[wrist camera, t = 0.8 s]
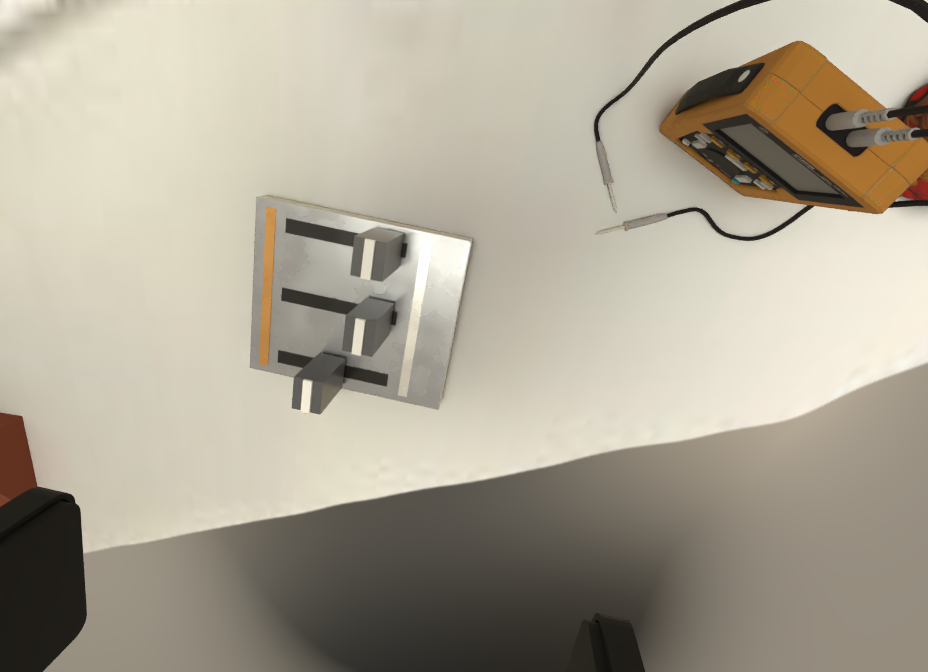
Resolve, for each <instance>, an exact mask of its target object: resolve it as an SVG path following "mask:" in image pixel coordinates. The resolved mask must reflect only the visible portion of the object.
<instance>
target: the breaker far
mask: <svg viewBox="0 0 928 672" xmlns="http://www.w3.org/2000/svg"><path fill="white" fill-rule="evenodd" d="M345 360H346V358H342V357H338V356H333V355H329V354H324V353H319V354H318V355H317V356H316V357H314V358H313V359H312V360H311V361H310V362H309V363H308V364H307V365H306V366H305V367H304V368H303V369H302V370H301V371H300V372H298V373H297V374H296V375H295V376H294V384H293V398H292V408H293V409H298V410H301V411H300V412H304V413H308V414H309V413H310V412H311V413H316V414H321V413H322V412H323V410H324V409H325V408H326V407H327V405H328V404H329V403H330V402H331V400H332V399H333V398H334V397H335V395H336V394H337V393H338V392H339V390H340V389H341V388H342V387H343V378H344V369H345Z"/></svg>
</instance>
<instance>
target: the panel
mask: <svg viewBox="0 0 928 672" xmlns="http://www.w3.org/2000/svg"><path fill="white" fill-rule="evenodd" d="M374 227H377V228H382V229H387V230H392V231H396V232H401V233H404V238H403V245H402V252H401V258H400V265H399V268H398V269H397V270H396V271H395V272H394V273H392V274H391V275H390V276H389V277H388V278H386V279H385V280H384V281H383V282H379V281H375V280H366V279H361V278H360V277H356V276H351V275H350V272H351V262H352V253H353V244H354V236H355V235H358V234H360V233H363V232H365V231H367V230H370V229H372V228H374ZM472 241H473V238H469V237H464V236H459V235H454V234H450V233H445V232H440V231H435V230H430V229H426V228H421V227H416V226H411V225H406V224H402V223H397V222H392V221H387V220H383V219H378V218H373V217H368V216H363V215H359V214H354V213H349V212H344V211H339V210H335V209H330V208H325V207H320V206H316V205H311V204H306V203H301V202H296V201H292V200H287V199H282V198H277V197H272V196H260V197H256V222H255V248H254V274H253V300H252V326H251V352H250V368H254V369H258V370H263V371H267V372H272V373H276V374H280V375H285V376H289V377H294V376H295V375H296V374H297V373H298V372H300V371H301V370H302V369H303V368H304V367H305V366H306V365H307V364H308V363H309V362H310V361H311V360H312V359H313V358H314V357H316V356H317V355H318V354H319V353H324V354H329V355H333V356H338V357H342V358H346V360H345V369H344V378H343V387H342V388H343V389H348V390H352V391H357V392H361V393H366V394H370V395H375V396H379V397H384V398H388V399H392V400H397V401H401V402H406V403H410V404H415V405H419V406H424V407H428V408H433V409H437V410H438V409H439V406H440V403H441V400H442V395H443V390H444V385H445V380H446V375H447V370H448V365H449V359H450V354H451V349H452V344H453V339H454V334H455V329H456V324H457V318H458V313H459V308H460V303H461V298H462V293H463V288H464V282H465V277H466V272H467V267H468V262H469V257H470V252H471V246H472ZM365 298H371V299H376V300H381V301H385V302H390V303H394V307H393V314H392V321H391V328H390V334H389V336H388V337H387V338H386V340H385V341H384V342H383V344H382V345H381V346H380V348H379V349H378V350H377V351H376V353H375V354H374V355H373V357H369V356H365V355H361V356H359V355H354V354H351V352H347V351H342V345H343V336H344V326H345V317H346V315H347V314H348V313H349V312H350V311H351V310H353V309H354V308H355V307H356V306H357V305H358V304H360V303H361V302H362V301H363V300H364V299H365Z"/></svg>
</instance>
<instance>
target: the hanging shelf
mask: <svg viewBox="0 0 928 672" xmlns="http://www.w3.org/2000/svg"><path fill="white" fill-rule="evenodd" d="M35 487H37V482H36V478H35V473H34V469H33V464H32V459H31V455H30V450H29V446H28V441H27V436H26V432H25V427H24V422H23V418H22V416H17V415H11V414H5V413H0V507H1V506H2V505H4V504H6V503H7V502H9V501H10V500H12V499H14V498H15V497H17V496H18V495H20V494H22V493H23V492H25V491H27V490H29V489H31V488H35Z"/></svg>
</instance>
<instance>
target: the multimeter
mask: <svg viewBox="0 0 928 672" xmlns="http://www.w3.org/2000/svg"><path fill="white" fill-rule="evenodd" d="M766 1H769V0H740V1H738V2H735V3H733V4H731V5H729V6H726V7H724V8H722V9H719V10H717V11H715V12H713V13H711V14H709V15H707V16H705V17H704V18H702V19H700V20H698V21H696V22H694V23H693V24H691V25H689V26H688V27H686V28H685V29H683V30H681V31H680V32H678V33H677V34H676V35H674V36H673V37H672V38H670V39H669V40H668V41H666V42H665V43H664V44H663V45H662V46H661V47H660V48H659V49H658V50H657V51H656V52H655V53H654V54H653V55H652V57H651V58H650V59H649V60H648V62H647V63H646V64H645V66H644V67H643V68H642V70H641V71H640V72H639V74H638V75H637V76H636V78H635V79H634V80H633V82H632V83H631V84H630V85H629V86H628V87H627V88H626V89H625V90H624V91H623V92H622V93H621V94H619V95H618V96H617V97H615V98H614V99H613V100H611V101H610V102H609V103H608V104H606V105H605V106H604V107H603V108H602V109H601V111H600V112H599V113H598V115H597V117H596V119H595V124H594V131H595V136H596V141H597V142H596V146H597V153H598V157H599V161H600V165H601V169H602V173H603V177H604V181H605V182H604V185H606V184H608V188H609V192H610V196H611V200H612V204H613V208H614V210H615V212H616V203H615V199H614V195H613V191H612V187H611V183H612V182H614V181H613V180H612V177H611V173H610V169H609V165H608V161H607V157H606V153H605V149H604V146H603V144H602V141H600V136H599V131H598V122H599V119H600V117H601V115H602V114H603V112H604V111H605V110H606V109H607V108H609V107H610V106H611V105H612V104H613V103H615V102H616V101H617V100H619V99H620V98H621V97H623V96H624V95H625V94H626V93H627V92H629V91H630V90H631V89H632V88H633V87H634V86H635V84H636V83H637V82H638V81H639V80H640V78H641V77H642V76H643V75H644V73H645V72H646V71H647V70H648V68H649V67H650V66H651V65H652V63H653V62H654V61H655V60H656V59H657V58H658V57H659V55H660V54H661V53H662V52H663V51H664V50H665V49H667V48H668V47H669V46H670V45H672V44H673V43H675V42H676V41H678V40H679V39H681V38H682V37H684V36H686V35H687V34H689V33H691V32H692V31H694V30H696V29H698V28H700V27H702V26H704V25H706V24H708V23H710V22H712V21H714V20H716V19H718V18H721V17H723V16H726V15H728V14H731V13H733V12H735V11H738V10H741V9H744V8H747V7H750V6H753V5H757V4H760V3H763V2H766ZM890 1H892V2H894V3H896V4H899V5H901V6H903V7H906V8H908V9H910V10H912V11H913V12H914V13H916V14H917V15H918V16H920V17H921V18H922V19H923V20H925V21H926V22H927V23H928V3H927V2H926V1H924V0H890ZM924 113H928V105H924V106H917V107H911V108H904V109H898V110H896V109H895V108H888V109H886V108H885V107H884V106H882V105H881V104H880V103H879V102H878V101H876V100H875V99H874V98H873V97H872V96H870V95H869V94H868V93H867V92H866V91H864V90H863V89H862V88H861V87H860V86H858V85H857V84H856V83H855V82H854V81H852V80H851V79H850V78H849V77H848V76H846V75H845V74H844V73H843V72H842V71H840V70H839V69H838V68H837V67H836V66H834V65H833V64H832V63H831V62H830V61H828V60H827V58H826V57H825V56H824V55H823V54H821V53H820V52H819V51H817V50H816V49H815V48H813V47H812V46H811V45H809V44H807V43H805V42H803V41H795V42H792V43H790V44H788V45H786V46H784V47H781V48H779V49H777V50H775V51H773V52H770V53H768V54H766V55H764V56H762V57H759V58H757V59H755V60H753V61H751V62H748V63H746V64H744V65H742V66H740V67H737V68H733V69H728V70H725V71H723V72H720V73H718V74H716V75H714V76H711V77H709V78H707V79H704V80H702V81H700V82H698V83H697V84H695V85H694V86H693V87H692V88H691V89H690V90H688V91H687V92H686V93H685V95H684V96H683V97H682V98H681V100H680V101H679V102H678V104H677V105H676V106H675V107H674V109H673V110H672V111H671V113H670V114H669V115H668V117H667V118H666V119H665V121H664V122H663V123H662V124H661V126H660V131H661V132H662V133H663V134H664V135H665V136H666V137H667V138H669V139H670V140H671V141H673V142H675V143H676V144H677V145H679V146H680V147H681V148H682V149H684V150H685V151H686V152H688V153H689V154H690V155H691V156H693V157H694V158H695V159H697V160H698V161H699V162H700V163H702V164H703V165H704V166H706V167H707V168H708V169H710V170H711V171H712V172H713V173H715V174H716V175H717V176H719V177H720V178H721V179H722V180H724V181H725V182H726V183H728V184H729V185H730V186H731V187H732V188H733V189H735V190H736V191H737V192H739V193H740V194H742V195H744V196H749V197H757V198H763V199H770V200H777V201H784V202H790V203H797V204H805V205H808V206H807V207H806V208H804V209H803V210H801V211H800V212H799V213H797V214H796V215H795V216H794V217H792V218H791V219H789V220H788V221H786V222H785V223H784V224H782V225H781V226H779V227H777V228H775V229H774V230H772V231H770V232H768V233H766V234H763V235H760V236H755V237H740V236H735V235H731V234H728V233H725V232H724V231H722V230H721V229H720V228H719V227H718V226H717V225H716V224H715V223H714V221H713V220H712V218H711V217H710V215H709V214H708V213H707V212H706V211H704V210H703V209H700V208H688V209H684V210H680V211H675V212H672V213H669V214H658V215H654V216H650V217H646V218H642V219H638V220H634V221H630V222H624V225H623V226H619V227H615V228H611V229H607V230H603V231H600V232H598V233H596V234H602V233H606V232H610V231H614V230H618V229H623V228H625V231H627V230H628V229H631V228H636V227H640V226H644V225H648V224H652V223H656V222H659V221H662V220H665V219H667V218H668V217H671V216H675V215H678V214H683V213H687V212H692V211H698V212H700V213H702V214H703V215H704V216H705V217H706V219H707V220H708V221H709V223H710V224H711V225H712V227H713V228H714V229H715V230H716V231H717V232H718V233H720V234H721V235H723V236H725V237H729V238H732V239H737V240H744V241H753V240H759V239H762V238H765V237H768V236H770V235H772V234H774V233H776V232H778V231H780V230H781V229H783V228H785V227H786V226H788V225H789V224H790V223H792V222H793V221H795V220H796V219H797V218H799V217H800V216H801V215H803V214H804V213H805V212H807V211H808V210H810V209H811V208H812V207H814V206H820V207H827V208H835V209H842V210H848V211H857V212H865V213H872V214H881V213H883V212H884V211H885V210H886V209H887V208H893V207H908V206H928V200H911V201H898V202H894V201H895V200H896V199H897V198H898V197H899V196H900V195H901V194H902V193H903V192H904V191H905V190H906V189H907V188H908V187H909V186H910V185H911V184H912V183H913V182H914V181H915V180H916V179H917V178H918V177H919V176H920V175H921V174H922V173H923V172H924V171H925V170H926V169H927V168H928V142H927V141H926V140H925V139H924V138H923V137H928V129H919V128H909V127H908V126H907V125H905V124H904V123H903V122H902V121H901V120H899V119H898V118H897V117H901V116H909V115H917V114H924Z"/></svg>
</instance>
